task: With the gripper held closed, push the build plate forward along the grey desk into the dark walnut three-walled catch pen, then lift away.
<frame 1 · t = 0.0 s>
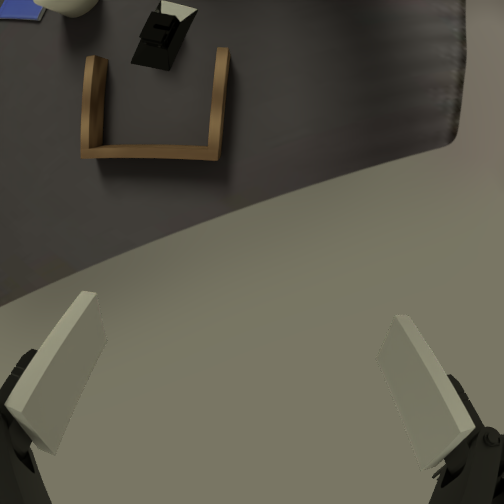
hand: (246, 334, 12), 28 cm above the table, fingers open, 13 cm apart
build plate: (165, 35, 30), on the table
catch pen: (156, 98, 33), on the table
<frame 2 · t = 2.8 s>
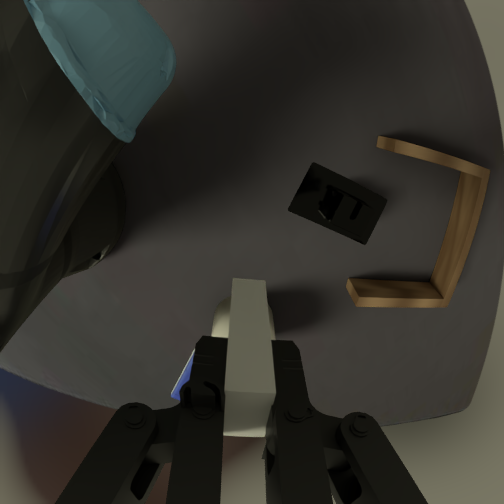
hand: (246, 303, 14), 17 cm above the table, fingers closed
cream cylinder: (243, 318, 36), on the table
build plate: (338, 202, 30), on the table
hard drive: (210, 376, 41), on the table
catch pen: (409, 222, 31), on the table
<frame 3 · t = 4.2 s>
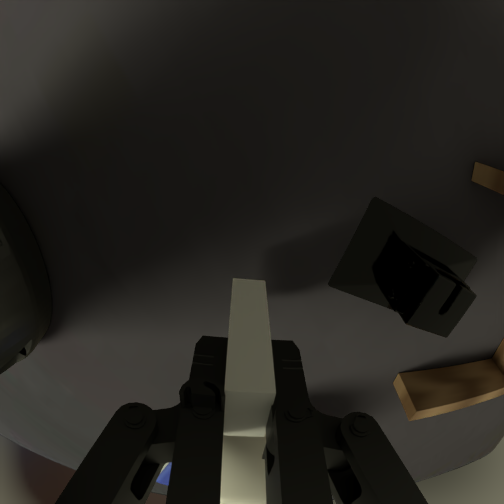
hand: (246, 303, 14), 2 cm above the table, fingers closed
cream cylinder: (243, 424, 22), on the table
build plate: (406, 265, 17), on the table
catch pen: (490, 293, 17), on the table
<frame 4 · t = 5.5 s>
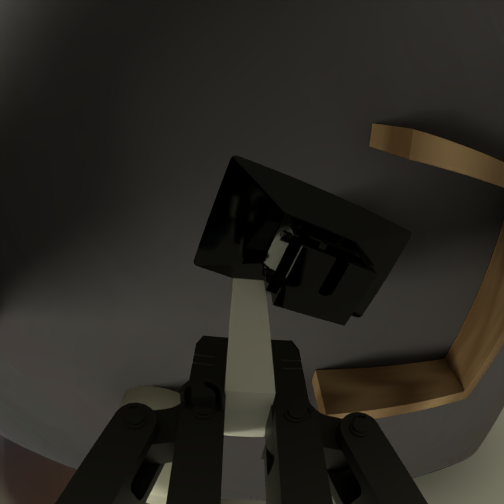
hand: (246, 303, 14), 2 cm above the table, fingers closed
cream cylinder: (162, 411, 22), on the table
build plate: (305, 243, 16), on the table, touching gripper
catch pen: (424, 282, 17), on the table
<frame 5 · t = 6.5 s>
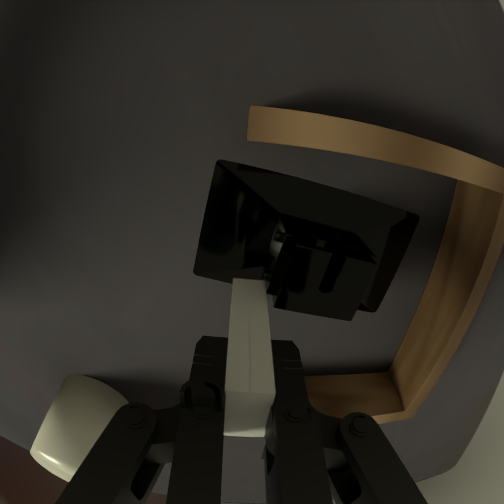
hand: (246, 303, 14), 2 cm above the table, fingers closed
cream cylinder: (96, 401, 21), on the table
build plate: (306, 240, 16), on the table, touching gripper
catch pen: (341, 285, 17), on the table
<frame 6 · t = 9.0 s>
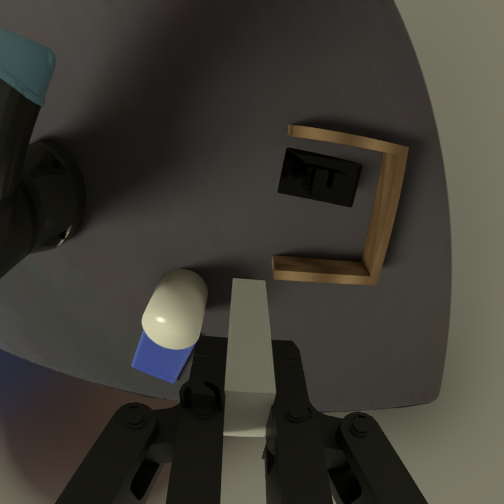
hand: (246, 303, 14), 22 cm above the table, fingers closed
cream cylinder: (182, 291, 40), on the table
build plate: (319, 176, 35), on the table
hard drive: (163, 347, 46), on the table
catch pen: (328, 202, 35), on the table
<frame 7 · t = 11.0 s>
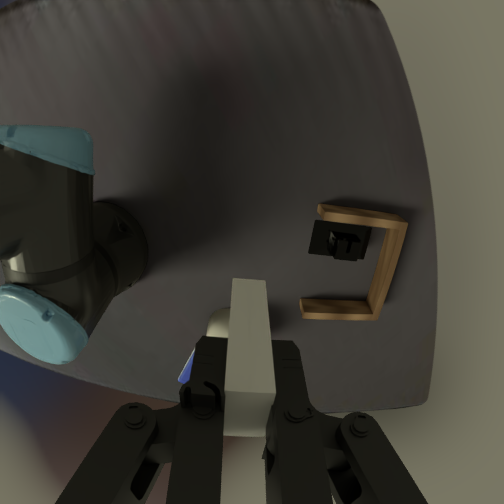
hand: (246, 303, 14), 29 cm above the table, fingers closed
cream cylinder: (228, 324, 52), on the table
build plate: (339, 238, 46), on the table
hard drive: (207, 365, 57), on the table
catch pen: (344, 260, 47), on the table
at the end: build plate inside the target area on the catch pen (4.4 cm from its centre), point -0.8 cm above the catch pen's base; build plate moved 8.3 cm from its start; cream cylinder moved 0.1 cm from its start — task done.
